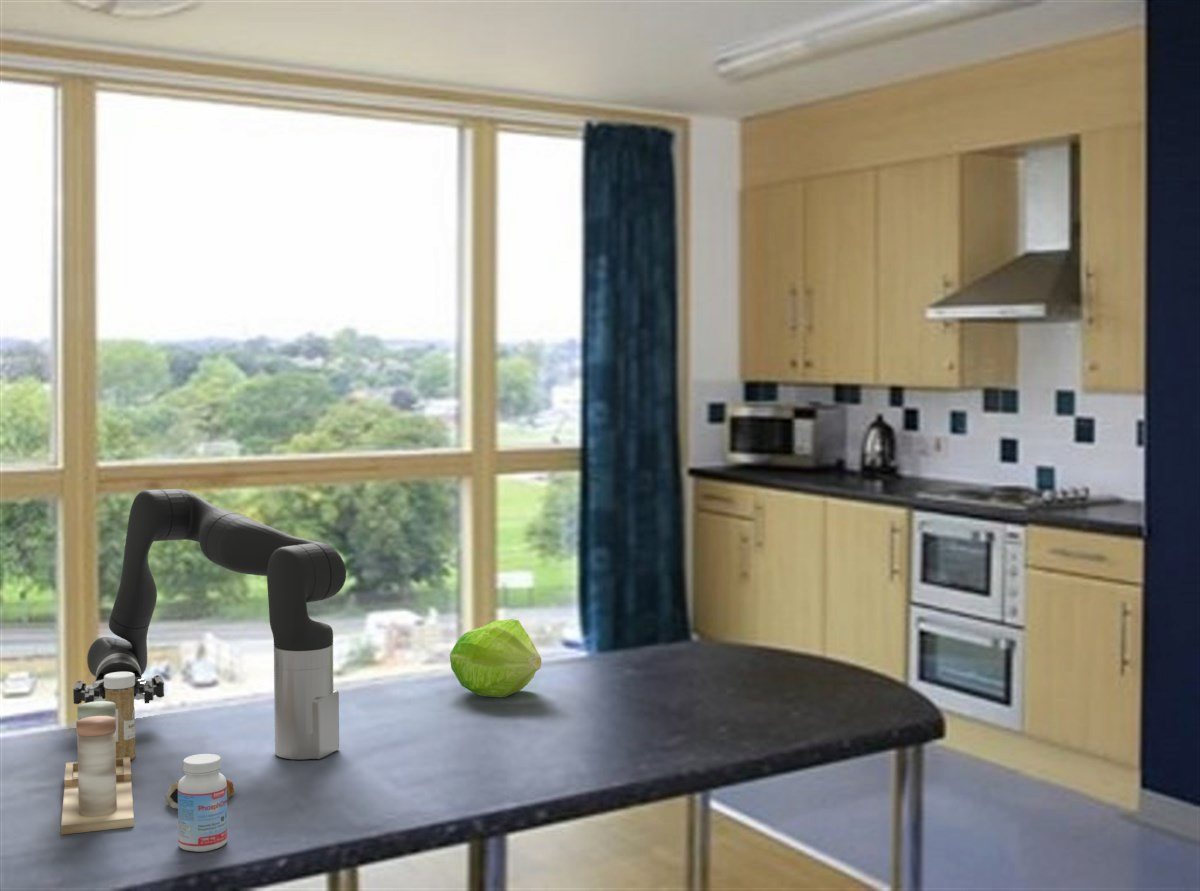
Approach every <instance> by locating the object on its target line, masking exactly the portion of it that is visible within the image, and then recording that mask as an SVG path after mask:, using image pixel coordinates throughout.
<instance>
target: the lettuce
mask: <svg viewBox="0 0 1200 891" xmlns="http://www.w3.org/2000/svg"><path fill="white" fill-rule="evenodd" d="M449 661H450V669H451V670H452V672H453V674H454V675H455V677H456V678H457V680H458V682H459V684H460V686H461V687H463V688H464V689H467V690H468V691H470V692H472V693H474V694H475V695H477V696H480V697H491V698H505V697H508V696H511V695H513V694H515V693H518V692H520V691H521V690H523V689H524V688H526V686H527V685H528V684H530V682H531V681H532V680H533V678H534V677H535V675H536V673H537V671H539V670H540V669H541V666H542V657H541V655H540V654H539V652H538V650H537V648H536V646H535V644H534V643H533V641H532V639H531V637H530V635H529V634H528V632H527V631H526V630H525V628H524V627H523V625H522V623H521V622H520V620H518V619H514V618H511V619H502V620H493V621H491V622H489V623H488V624H487V623H486V624H484V625H483V626H481V627H478V628H474V629H472V630H471V629H470V630H469V631H466V632H465V633H464V634H462V635H461V636H459V638H458V640H457V641H456V642H455V644H454V646H453V648H452V650H451V651H450V654H449Z"/></svg>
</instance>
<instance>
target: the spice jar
mask: <svg viewBox="0 0 1200 891" xmlns="http://www.w3.org/2000/svg"><path fill="white" fill-rule="evenodd" d="M134 685H135V674H134V673H132V672H113V673H109V674H106V675H105V676H104V687H105V701H109V702H114V703H115V712H116V714H115V718H116V731H115V741H116V758H121V757H130V761H131V760H134V759H135V758H137V753H136V719H135V699H134Z"/></svg>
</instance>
